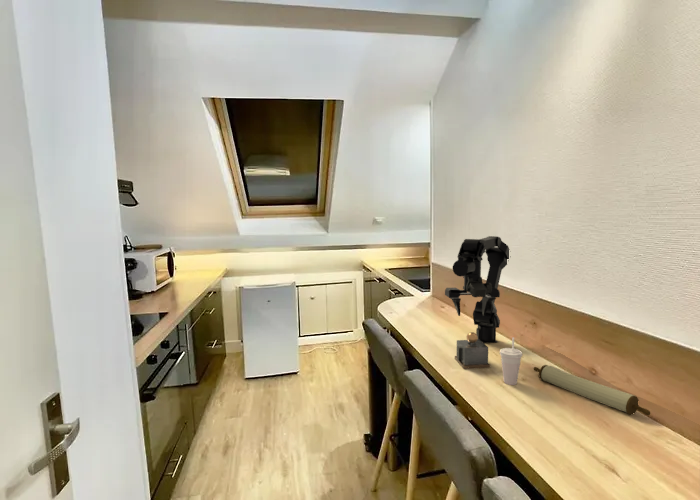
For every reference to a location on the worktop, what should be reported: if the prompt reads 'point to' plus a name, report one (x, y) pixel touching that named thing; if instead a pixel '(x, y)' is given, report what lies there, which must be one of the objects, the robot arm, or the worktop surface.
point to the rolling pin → (591, 390)
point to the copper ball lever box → (472, 354)
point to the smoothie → (510, 364)
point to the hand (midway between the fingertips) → (471, 315)
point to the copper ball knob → (472, 338)
